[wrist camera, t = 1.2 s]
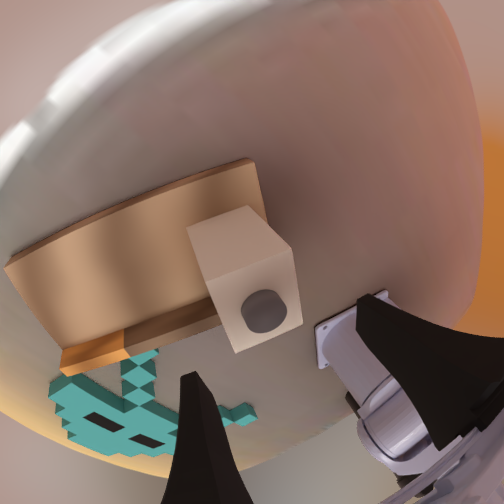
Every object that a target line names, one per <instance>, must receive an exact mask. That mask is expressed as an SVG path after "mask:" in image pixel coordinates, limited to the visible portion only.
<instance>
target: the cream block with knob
mask: <svg viewBox="0 0 504 504" xmlns="http://www.w3.org/2000/svg"><path fill="white" fill-rule="evenodd" d="M186 229H187V232H188V235H189V238H190V241H191V244H192V247H193V250H194V252H195V255H196V258H197V261H198V264H199V267H200V270H201V272H202V275H203V278H204V281H205V283H206V286H207V288H208V291H209V293H210V296H211V298H212V300H213V303H214V305H215V308H216V310H217V312H218V315H219V317H220V319H221V322H222V324H223V326H224V329H225V331H226V333H227V336H228V338H229V340H230V342H231V345H232V347H233V349H234V351H235V353H237V352H240V351H242V350H245V349H247V348H250V347H252V346H254V345H257V344H259V343H262V342H264V341H266V340H269V339H271V338H273V337H276V336H278V335H280V334H282V333H285V332H287V331H289V330H291V329H293V328H296V327H298V326H300V325H302V324H303V319H302V312H301V305H300V298H299V291H298V285H297V278H296V272H295V266H294V259H293V253H292V248H291V247H290V246H289V245H288V244H287V243H286V242H285V241H284V240H283V239H282V238H281V237H280V236H279V235H278V234H277V233H276V232H275V231H274V230H273V229H272V228H271V227H270V226H269V225H268V224H267V223H266V222H265V221H264V220H263V219H262V218H261V217H260V216H259V215H258V214H257V213H256V212H255V211H254V210H253V209H252V208H251V207H249V206H248V205H246V206H243V207H240V208H238V209H235V210H232V211H229V212H226V213H223V214H221V215H218V216H215V217H212V218H210V219H207V220H204V221H201V222H199V223H196V224H193V225H191V226H188V227H186Z"/></svg>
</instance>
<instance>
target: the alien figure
mask: <svg viewBox="0 0 504 504" xmlns="http://www.w3.org/2000/svg"><path fill="white" fill-rule="evenodd" d="M158 354H159V351H158V348H156V349H154V350H151V351H148V352H145V353H142V354H139V355H136V356H133V357H130V358H127V359H124V360H122V361H121V377H122V378H124V379H125V381H123V382H122V397H124V398H125V399H121V398H120V397H118V396H116V395H114V394H113V393H111V392H109V391H108V390H106V389H104V388H103V387H101V386H100V385H98V384H96V383H95V382H93V381H92V380H90V379H89V378H87V377H86V376H84V375H83V374H81V373H79V374H75V375H72V376H68V377H67V376H66V375H65V374H63V375H62V376H60V377H59V378H58V379H56V380H55V381H53V382H52V383H50V387H49V394H48V398H49V399H51V400H53V401H54V402H56V410H55V414H56V415H58V416H60V417H62V428H64V429H66V430H68V439H69V440H71V441H73V442H75V443H78V444H80V445H82V446H84V447H87V448H89V449H91V450H94V451H96V452H99V453H101V454H104V455H107V456H110V455H113V454H116V453H121V454H123V455H126V456H129V457H132V456H135V455H138V454H141V453H142V454H145V455H148V456H151V457H155V456H158V455H161V454H163V453H167V454H170V455H173V456H174V451H175V444H176V437H177V430H178V419H179V414H177V413H175V412H173V411H171V410H169V409H167V408H165V407H163V406H162V405H160V404H158V403H156V402H154V401H153V400H152V399H154V398H155V392H154V385H153V383H152V382H150V381H152V380H154V379H156V378H157V376H156V369H155V363H154V362H153V361H151V360H150V359H151V358H153V357H154V356H156V355H158ZM217 407H218V410H219V412H220V415H221V418H222V421H223V425H224V427H225V426H227V425H229V424H231V423H233V422H235V423H237V424H239V425H241V426H245V425H247V424H249V423H251V422H253V421H255V420H257V419H258V418H257V415H256V413H255V411H254V409H253V407H251V406H249V405H248V404H246V403H243V404H241V405H239V406H238V407H236V408H234V409H232V410H230V411H229V410H227V409H226V408H224V407H222V406H220V405H219V406H217Z"/></svg>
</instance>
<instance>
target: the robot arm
mask: <svg viewBox="0 0 504 504" xmlns="http://www.w3.org/2000/svg"><path fill="white" fill-rule="evenodd" d="M315 336H316V348H317V360H318V367H319V369H323V368H325V367H327V366H329V365H331V367H332V368H333V370H334V371H335V372H336V374H337V375H338V377H339V378H340V379H341V381H342V382H343V384H344V385H345V386H346V388H347V389H348V391H349V392H350V393H351V395H352V396H353V398H354V399H355V400H356V402H357V403H358V404H359V406H360V407H361V408H360V409H358V410H357V412H358V413H359V415H360V416H361V418H360V419H359V420H358V422H357V433H358V436H359V438H360V440H361V442H362V444H363V445H364V447H365V448H366V449H367V451H368V452H369V453H370V454H371V455H372V456H373V457H374V458H375V459H377V460H378V461H380V462H382V463H384V464H385V465H386V466H387V467H388V468H389V469H390V470H391V471H392V472H395V473H396V474H397V475H411V474H418V473H422V474H421V475H420V476H418V477H417V478H416V479H414V480H413V481H412V482H410V483H409V484H407V485H406V486H405V487H403V488H402V489H400V490H399V491H398V492H396V493H394V494H393V495H391V496H390V497H388V498H387V499H385V500H383V501H382V502H380V503H378V504H404V503H405V502H406V501H408V500H409V499H411V498H412V497H414V496H415V495H416V494H418V493H419V492H420V491H422V490H423V489H424V488H426V487H427V486H428V485H430V484H431V483H432V482H433V481H435V480H436V479H437V481H436V482H435V483H434V485H433V486H434V487H435V489H434V490H432V491H431V492H430V493H428V494H427V495H426V496H424V497H423V498H421V499H420V500H418V501H417V502H415V503H414V504H504V485H503V483H502V480H503V479H504V338H495V337H486V336H479V335H473V334H468V333H463V332H459V331H455V330H452V329H449V328H445V327H442V326H439V325H436V324H433V323H431V322H428V321H426V320H423V319H421V318H418V317H416V316H414V315H412V314H409V313H407V312H405V311H403V310H401V309H400V308H399V307H398V306H397V305H396V304H395V303H394V302H393V301H391V300H390V299H389V298H388V291H387V290H384V291H382V292H380V293H378V294H376V295H375V296H372V295H370V294H366V295H364V296H362V297H361V298H359V299H357V305H356V306H354V307H352V308H351V309H349V310H347V311H345V312H343V313H341V314H339V315H337V316H335V317H333V318H331V319H329V320H327V321H325V322H323V323H321V324H319V325H317V326H316V328H315ZM161 504H253V501H252V499H251V497H250V495H249V493H248V491H247V490H246V487H245V485H244V483H243V481H242V479H241V477H240V474H239V472H238V470H237V467H236V465H235V462H234V459H233V456H232V453H231V449H230V446H229V442H228V439H227V435H226V432H225V429H224V425H223V421H222V418H221V415H220V412H219V410H218V407H217V405H216V402H215V399H214V397H213V395H212V393H211V392H210V390H209V389H208V388H207V386H206V385H205V383H204V382H203V381H202V379H201V378H200V376H199V375H198V373H197V372H196V371H194V372H191V373H189V374H186V375H183V376H181V378H180V407H179V419H178V430H177V437H176V444H175V451H174V456H173V462H172V466H171V471H170V475H169V479H168V483H167V486H166V490H165V493H164V496H163V499H162V502H161Z"/></svg>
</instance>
